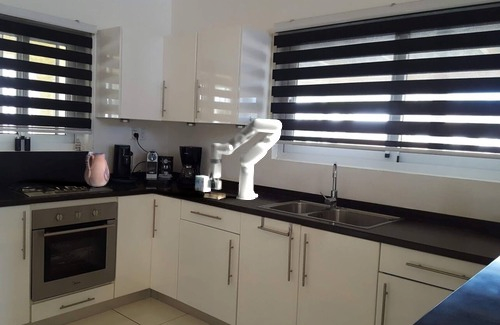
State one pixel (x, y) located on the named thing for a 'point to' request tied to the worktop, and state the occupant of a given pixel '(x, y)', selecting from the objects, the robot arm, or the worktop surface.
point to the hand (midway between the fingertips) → (214, 187)
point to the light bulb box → (201, 183)
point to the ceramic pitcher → (96, 169)
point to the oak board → (215, 195)
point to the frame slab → (217, 184)
